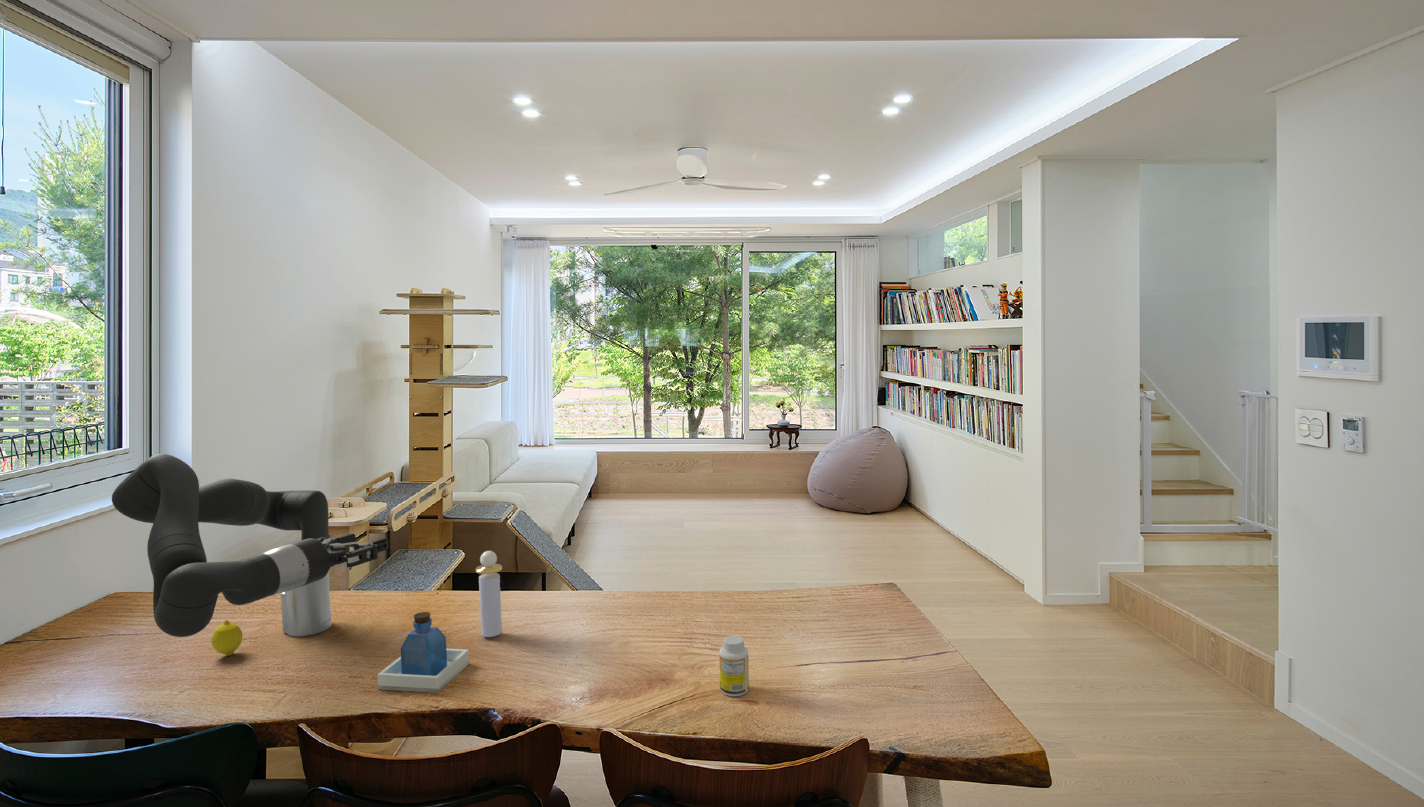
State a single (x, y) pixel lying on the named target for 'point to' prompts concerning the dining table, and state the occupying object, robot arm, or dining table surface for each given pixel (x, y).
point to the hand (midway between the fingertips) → (370, 540)
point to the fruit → (227, 638)
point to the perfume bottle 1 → (424, 648)
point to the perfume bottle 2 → (490, 594)
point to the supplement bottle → (734, 667)
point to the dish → (423, 683)
